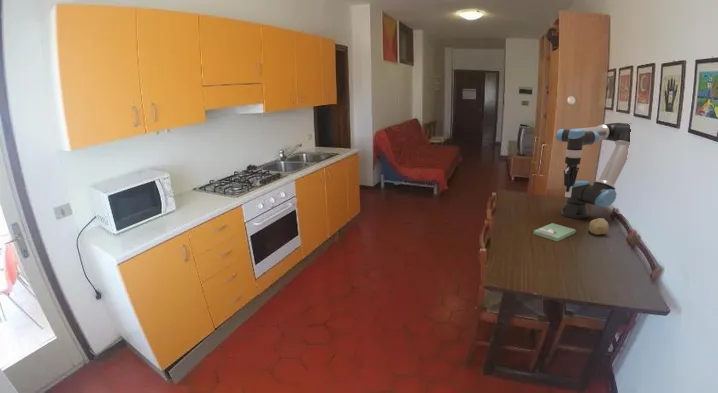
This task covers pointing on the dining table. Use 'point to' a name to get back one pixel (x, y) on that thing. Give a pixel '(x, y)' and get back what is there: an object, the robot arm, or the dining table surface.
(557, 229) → the mat
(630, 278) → the dining table surface
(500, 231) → the dining table surface
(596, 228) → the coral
